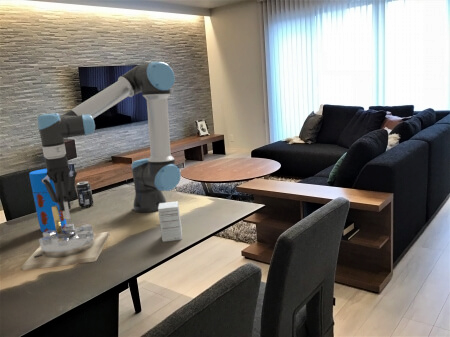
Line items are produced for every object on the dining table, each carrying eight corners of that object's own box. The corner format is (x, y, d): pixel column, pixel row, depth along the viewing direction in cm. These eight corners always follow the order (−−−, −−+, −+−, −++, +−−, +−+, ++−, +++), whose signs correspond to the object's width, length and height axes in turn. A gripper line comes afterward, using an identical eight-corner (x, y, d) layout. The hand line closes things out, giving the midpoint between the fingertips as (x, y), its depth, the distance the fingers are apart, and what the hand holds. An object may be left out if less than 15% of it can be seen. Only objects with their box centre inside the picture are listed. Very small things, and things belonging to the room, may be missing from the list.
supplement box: (163, 234, 159) (158, 202, 156) (182, 232, 160) (178, 200, 157) (161, 242, 152) (157, 208, 149) (182, 239, 152) (178, 206, 150)
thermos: (57, 232, 174) (46, 173, 168) (34, 232, 176) (23, 174, 171) (71, 223, 184) (61, 167, 179) (50, 223, 186) (39, 168, 181)
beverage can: (78, 205, 210) (74, 182, 208) (92, 203, 213) (88, 180, 211) (80, 209, 204) (76, 185, 202) (94, 206, 207) (90, 182, 204)
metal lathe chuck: (103, 244, 150) (97, 206, 147) (53, 262, 139) (45, 221, 136) (82, 233, 164) (75, 199, 161) (34, 249, 152) (27, 212, 149)
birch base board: (109, 235, 164) (108, 231, 164) (96, 261, 141) (95, 256, 140) (46, 242, 163) (46, 238, 162) (22, 270, 139) (21, 265, 139)
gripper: (42, 161, 145) (55, 225, 150) (77, 153, 154) (87, 214, 159) (33, 159, 150) (45, 222, 155) (67, 152, 159) (78, 211, 164)
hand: (67, 218), depth 157 cm, fingers closed
